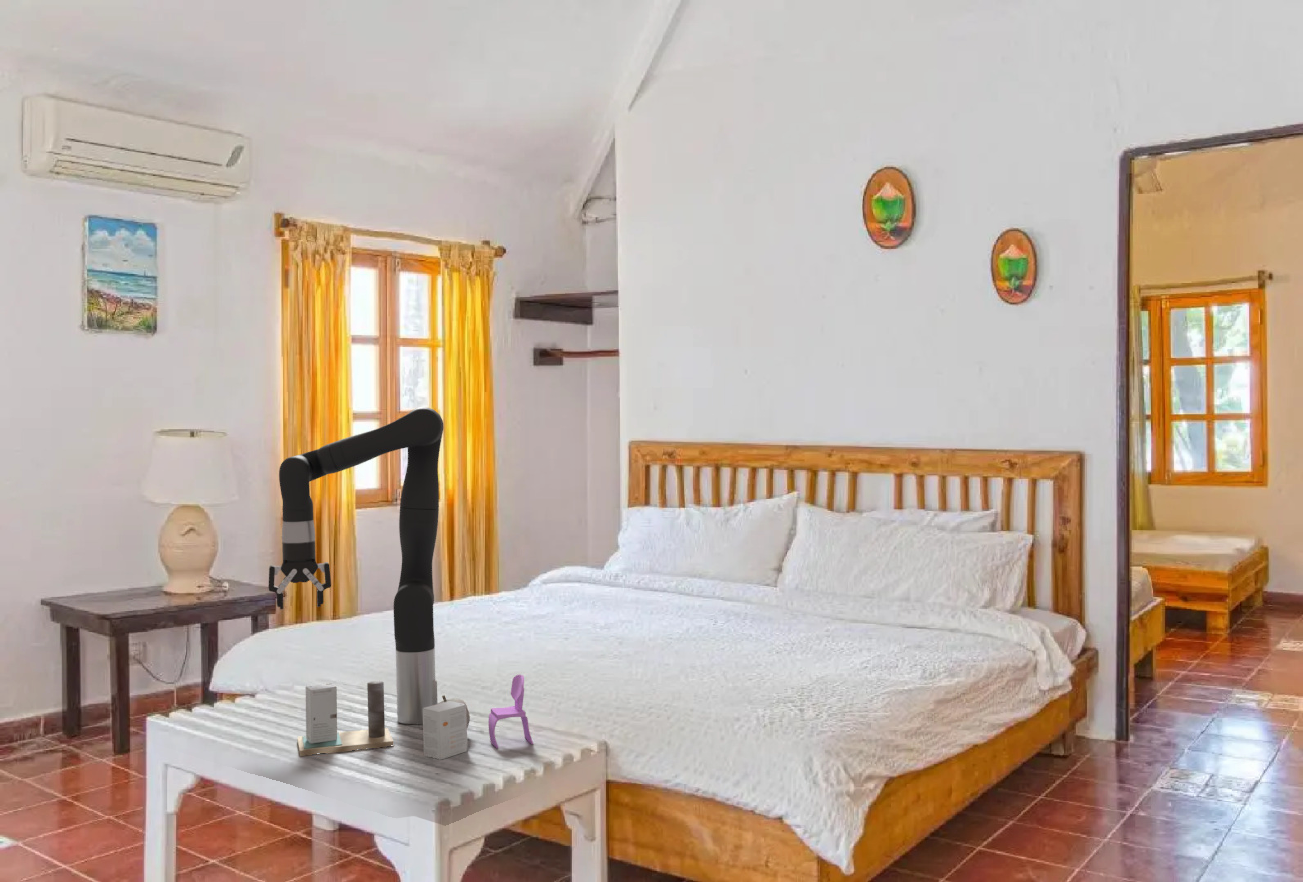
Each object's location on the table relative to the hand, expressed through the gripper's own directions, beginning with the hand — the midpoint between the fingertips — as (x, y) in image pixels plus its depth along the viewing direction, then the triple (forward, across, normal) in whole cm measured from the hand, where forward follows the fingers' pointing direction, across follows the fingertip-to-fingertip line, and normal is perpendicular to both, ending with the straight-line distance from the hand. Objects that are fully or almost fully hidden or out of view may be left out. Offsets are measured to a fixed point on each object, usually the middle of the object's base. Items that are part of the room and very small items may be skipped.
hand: (300, 607), depth 289 cm
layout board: (+28, +8, -21) cm, 36 cm away
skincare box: (+27, +3, -21) cm, 34 cm away
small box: (+28, +28, -37) cm, 54 cm away
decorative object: (+28, +31, -25) cm, 49 cm away
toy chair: (+28, +43, -34) cm, 62 cm away
